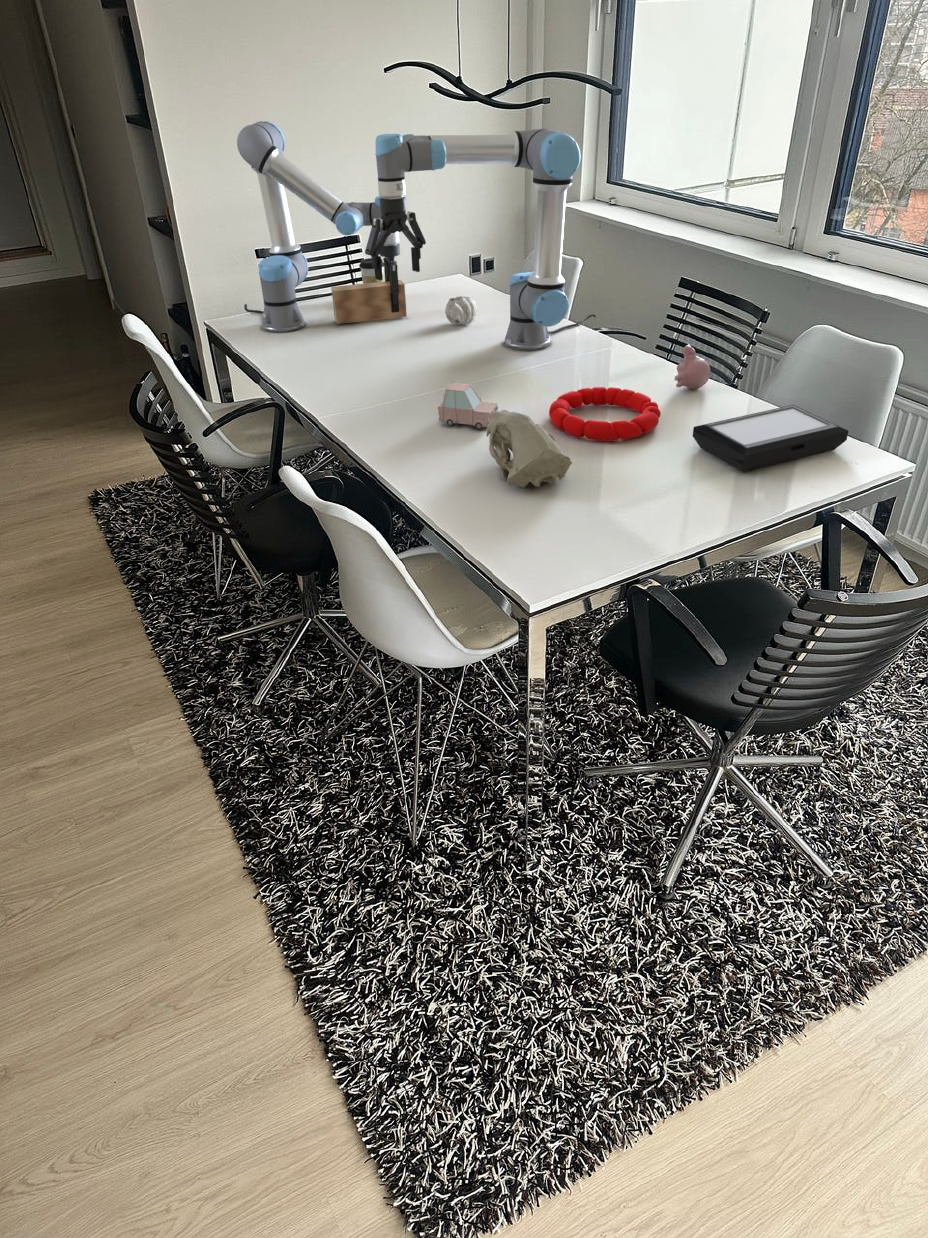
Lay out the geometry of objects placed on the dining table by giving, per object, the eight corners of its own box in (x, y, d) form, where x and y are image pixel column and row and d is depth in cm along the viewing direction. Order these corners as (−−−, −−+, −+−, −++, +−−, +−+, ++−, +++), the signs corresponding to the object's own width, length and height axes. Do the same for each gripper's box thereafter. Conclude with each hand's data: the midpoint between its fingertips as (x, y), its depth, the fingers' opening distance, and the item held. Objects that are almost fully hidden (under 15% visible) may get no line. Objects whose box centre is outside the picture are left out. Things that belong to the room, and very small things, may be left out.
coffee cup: (386, 303, 348) (383, 263, 339) (361, 304, 348) (357, 263, 339) (388, 296, 356) (385, 257, 347) (363, 297, 356) (360, 257, 347)
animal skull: (496, 517, 219) (521, 479, 201) (463, 429, 225) (484, 384, 207) (557, 503, 225) (586, 465, 206) (523, 417, 231) (549, 373, 212)
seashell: (437, 324, 323) (436, 295, 317) (473, 317, 329) (473, 289, 323) (451, 331, 315) (450, 302, 310) (487, 324, 321) (487, 295, 316)
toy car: (488, 432, 240) (488, 396, 234) (436, 426, 244) (434, 390, 239) (499, 419, 247) (499, 384, 241) (448, 413, 252) (447, 379, 246)
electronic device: (745, 452, 210) (694, 423, 225) (741, 476, 213) (691, 446, 228) (849, 427, 220) (793, 401, 235) (844, 450, 224) (789, 423, 239)
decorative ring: (589, 435, 224) (684, 402, 234) (527, 398, 247) (617, 369, 256) (589, 461, 229) (683, 427, 238) (529, 422, 251) (617, 393, 260)
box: (403, 311, 335) (400, 279, 329) (406, 316, 330) (404, 283, 323) (334, 319, 330) (331, 286, 323) (337, 323, 325) (333, 291, 318)
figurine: (665, 387, 264) (669, 347, 257) (693, 380, 268) (698, 340, 261) (686, 396, 257) (690, 355, 250) (714, 388, 262) (720, 348, 255)
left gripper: (373, 238, 324) (378, 303, 338) (383, 249, 309) (388, 317, 322) (393, 237, 326) (398, 301, 339) (404, 248, 310) (409, 315, 323)
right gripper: (363, 204, 241) (370, 285, 253) (435, 191, 254) (438, 269, 266) (348, 201, 246) (355, 280, 258) (419, 189, 259) (423, 265, 271)
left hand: (393, 309), depth 330 cm, fingers open, 6 cm apart
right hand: (397, 275), depth 262 cm, fingers open, 13 cm apart
